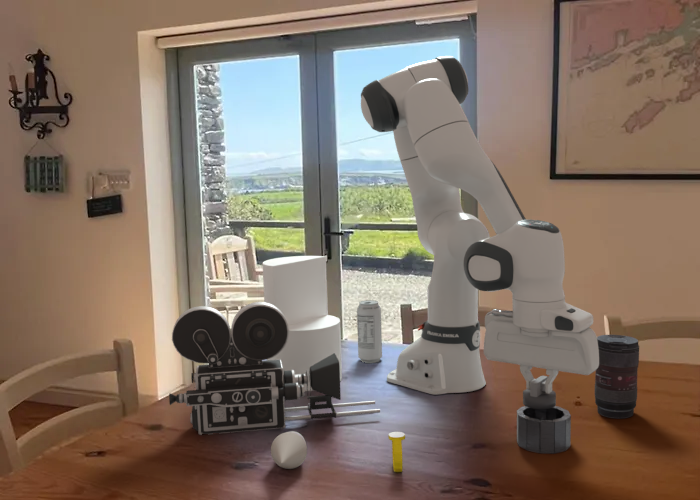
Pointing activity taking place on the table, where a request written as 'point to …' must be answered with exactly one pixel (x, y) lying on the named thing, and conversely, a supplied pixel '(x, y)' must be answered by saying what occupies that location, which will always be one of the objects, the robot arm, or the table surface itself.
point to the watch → (397, 450)
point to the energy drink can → (369, 331)
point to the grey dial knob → (538, 396)
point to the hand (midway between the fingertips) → (539, 390)
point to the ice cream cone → (289, 450)
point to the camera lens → (616, 376)
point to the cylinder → (302, 311)
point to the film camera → (248, 371)
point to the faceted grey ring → (544, 429)
